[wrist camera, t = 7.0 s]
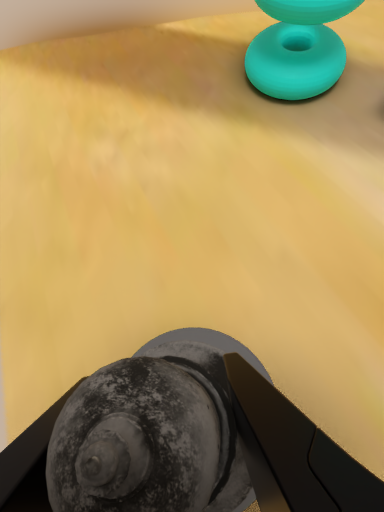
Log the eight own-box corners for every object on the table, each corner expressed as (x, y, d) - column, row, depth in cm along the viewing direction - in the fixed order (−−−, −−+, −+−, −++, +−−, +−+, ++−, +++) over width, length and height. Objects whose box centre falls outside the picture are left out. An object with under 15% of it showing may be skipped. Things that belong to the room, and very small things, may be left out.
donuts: (372, -85, 26) (399, -21, 21) (333, 42, 35) (347, 104, 30) (249, -73, 27) (253, -9, 22) (243, 47, 36) (244, 108, 31)
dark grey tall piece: (109, 469, 14) (-325, 719, 3) (153, 339, 16) (5, 203, 5) (241, 522, 12) (354, 1302, 2) (268, 372, 15) (388, 285, 4)
